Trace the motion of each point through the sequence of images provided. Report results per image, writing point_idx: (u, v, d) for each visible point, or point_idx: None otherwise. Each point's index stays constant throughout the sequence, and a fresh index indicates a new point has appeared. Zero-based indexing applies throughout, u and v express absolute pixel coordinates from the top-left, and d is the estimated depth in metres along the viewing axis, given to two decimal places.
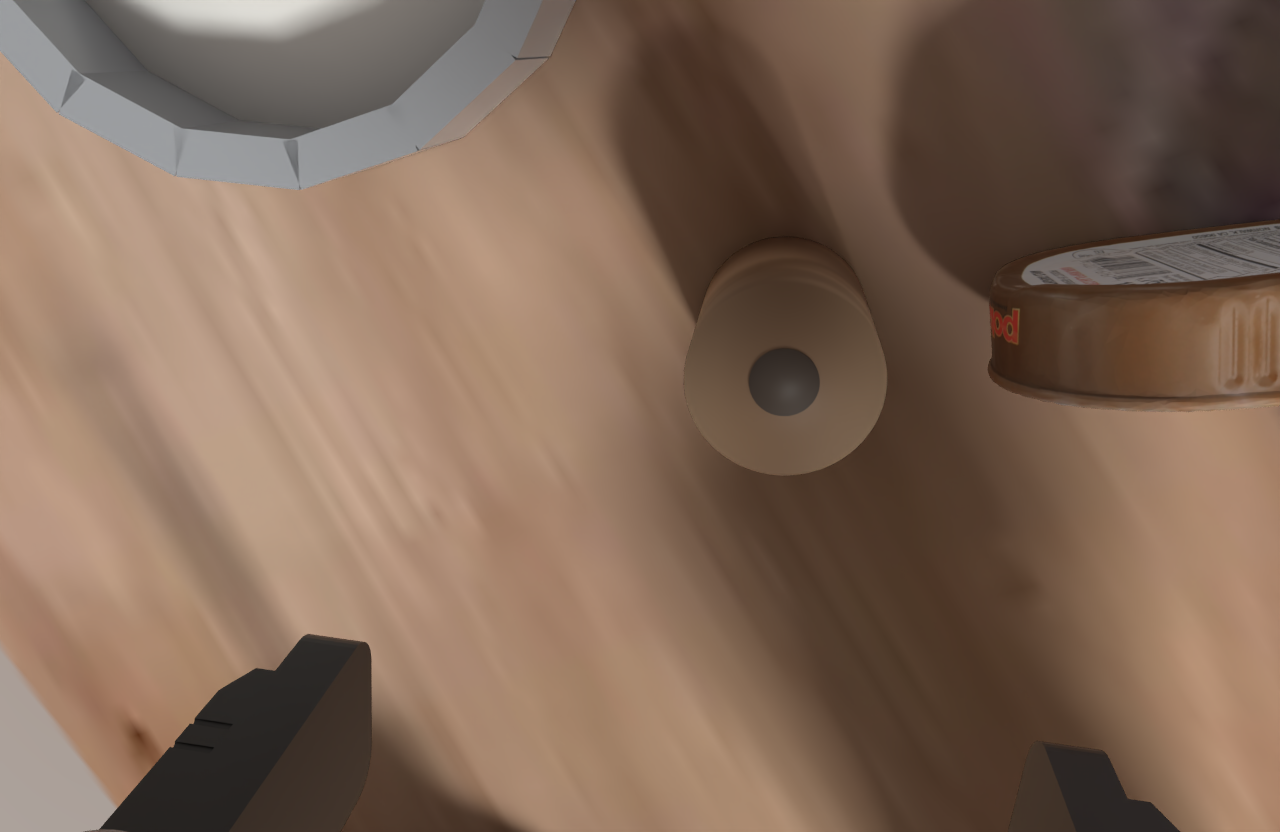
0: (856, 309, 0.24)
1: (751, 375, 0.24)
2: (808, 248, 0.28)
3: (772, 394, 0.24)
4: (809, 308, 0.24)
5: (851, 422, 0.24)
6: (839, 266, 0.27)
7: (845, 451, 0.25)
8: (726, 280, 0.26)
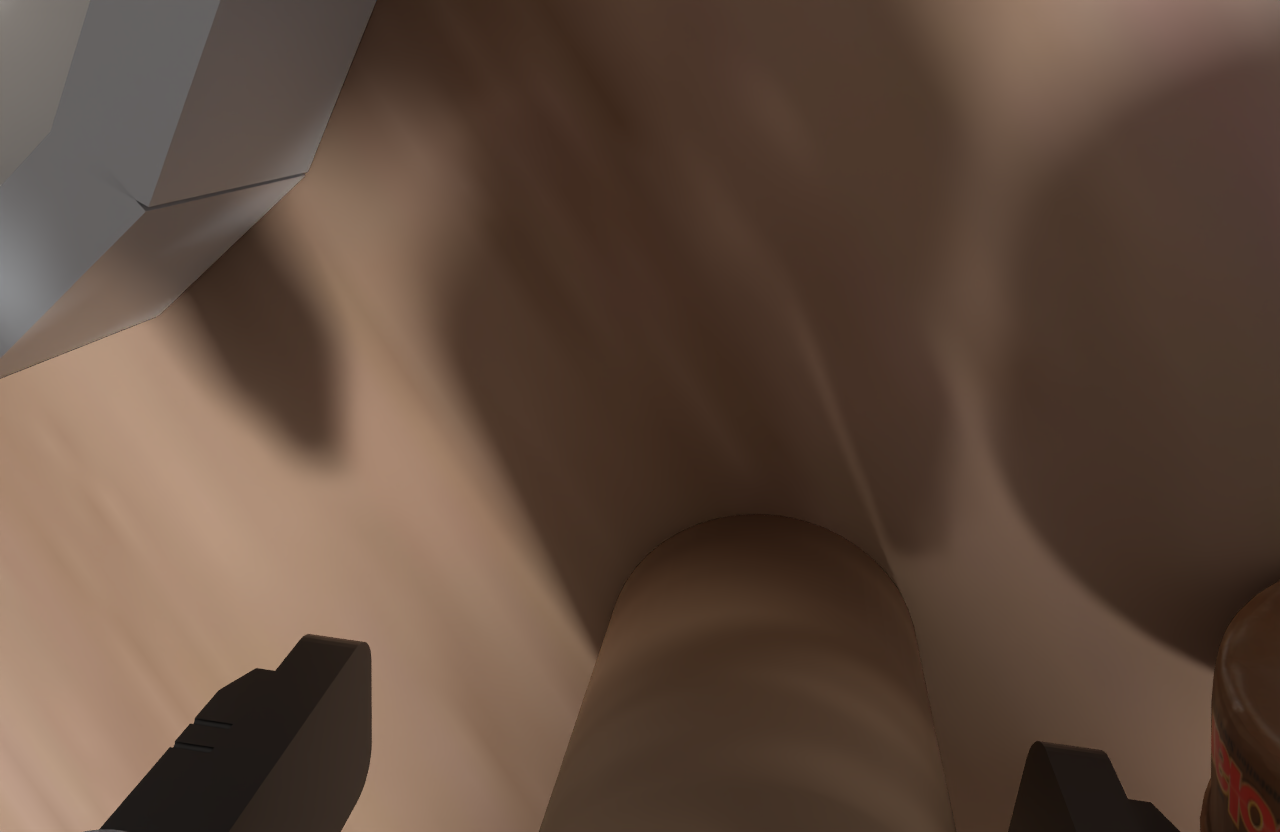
0: None
1: None
2: (805, 565, 0.14)
3: None
4: None
5: None
6: (867, 611, 0.13)
7: None
8: (629, 663, 0.12)
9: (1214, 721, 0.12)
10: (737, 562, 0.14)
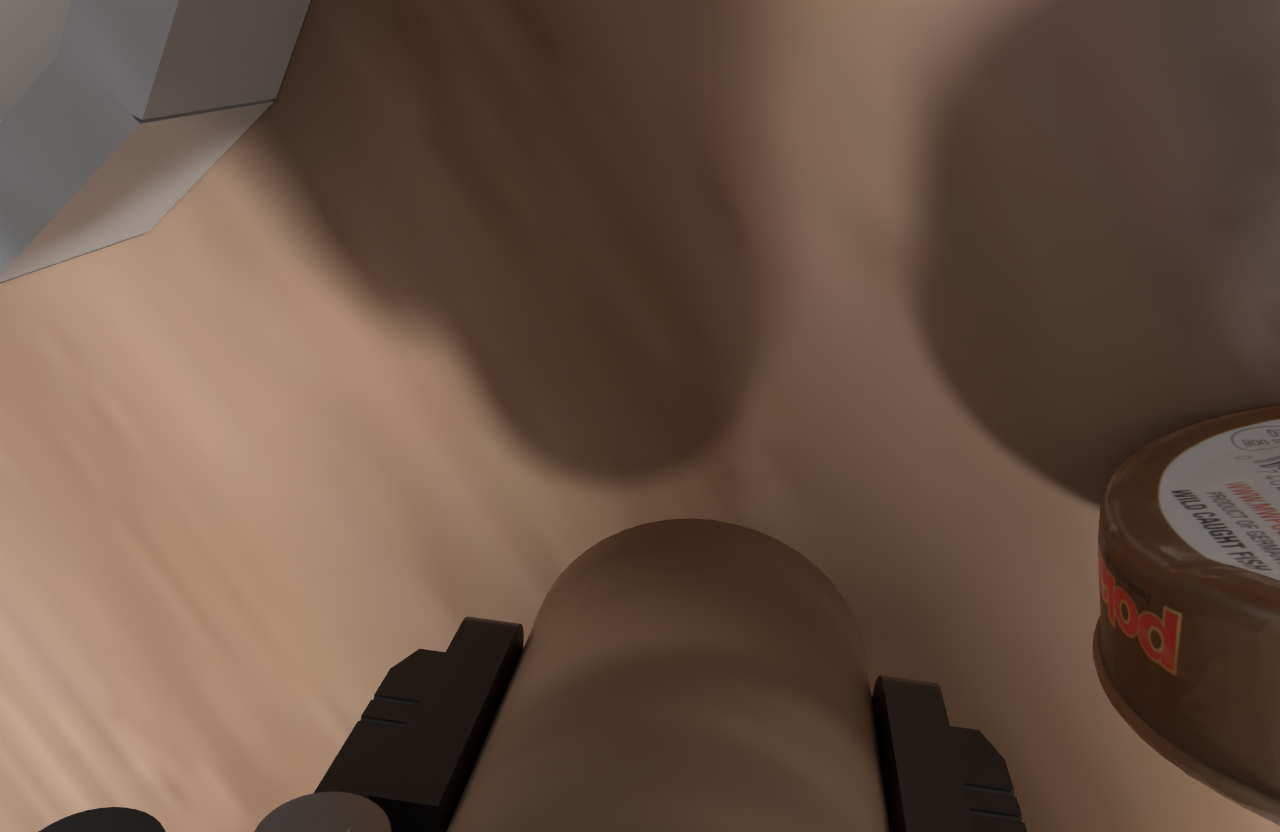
0: None
1: None
2: (735, 577, 0.12)
3: None
4: None
5: None
6: (804, 628, 0.12)
7: None
8: (531, 695, 0.11)
9: (1098, 546, 0.14)
10: (660, 575, 0.12)
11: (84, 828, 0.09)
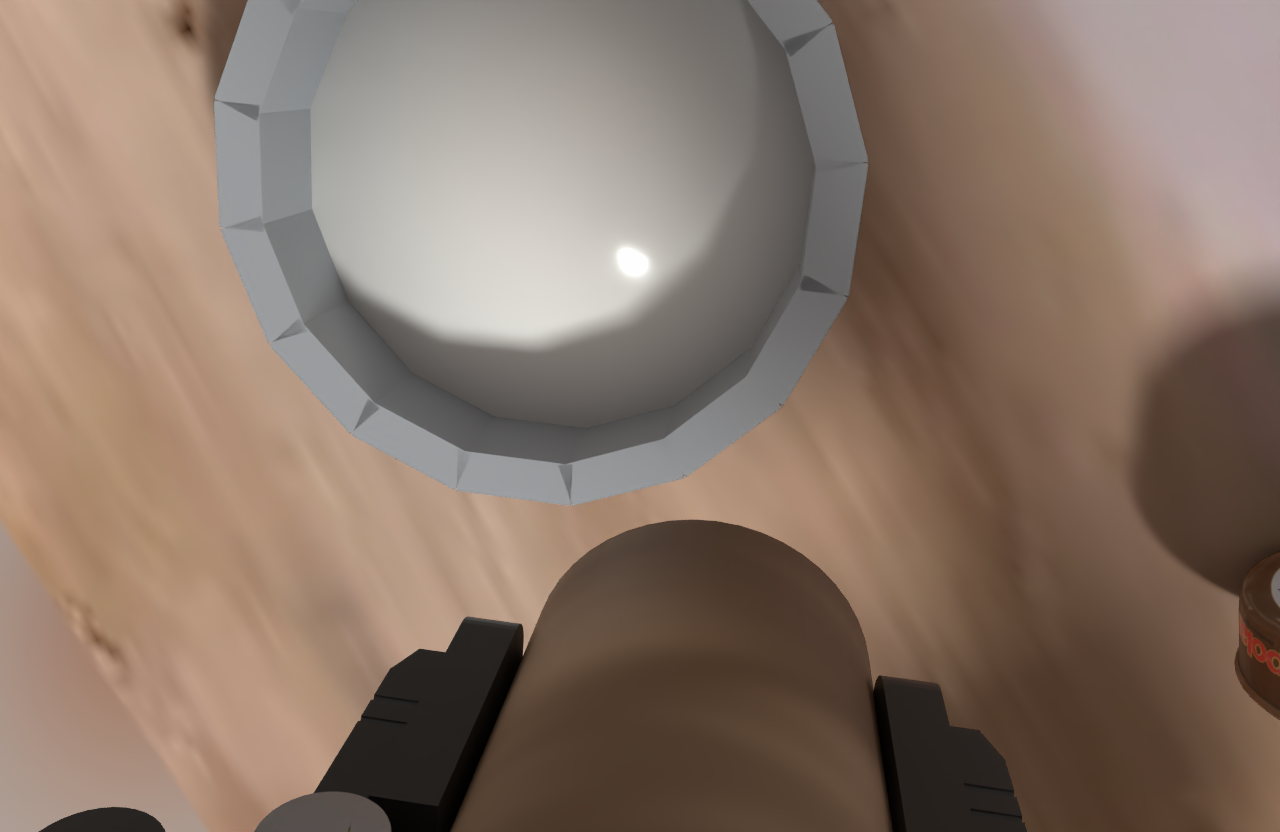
0: None
1: None
2: (738, 578, 0.12)
3: None
4: None
5: None
6: (807, 630, 0.12)
7: None
8: (533, 697, 0.11)
9: (1240, 616, 0.28)
10: (662, 576, 0.12)
11: (84, 828, 0.09)
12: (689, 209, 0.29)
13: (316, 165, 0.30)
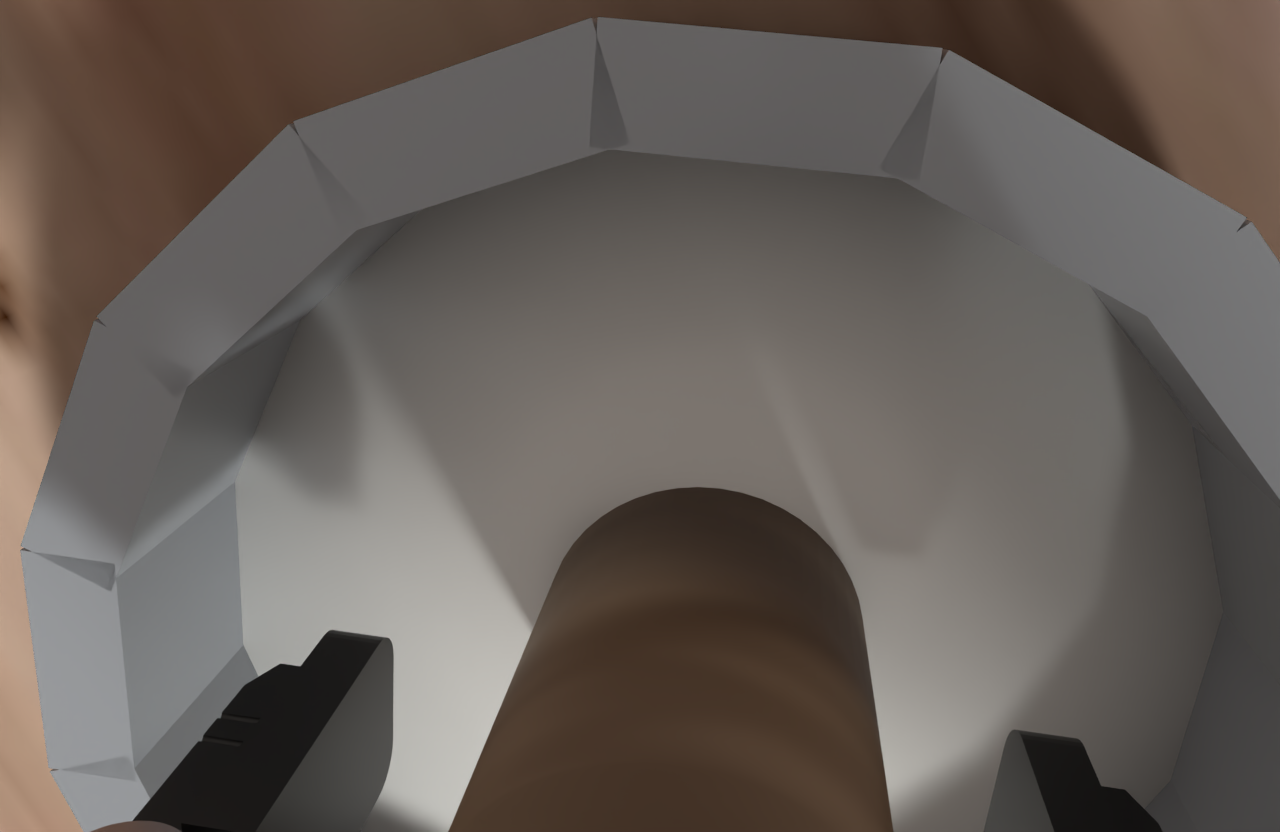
0: (834, 825, 0.09)
1: None
2: (741, 538, 0.13)
3: None
4: (713, 821, 0.09)
5: None
6: (804, 584, 0.13)
7: None
8: (553, 643, 0.12)
9: None
10: (670, 536, 0.13)
11: None
12: (961, 684, 0.15)
13: (249, 576, 0.16)
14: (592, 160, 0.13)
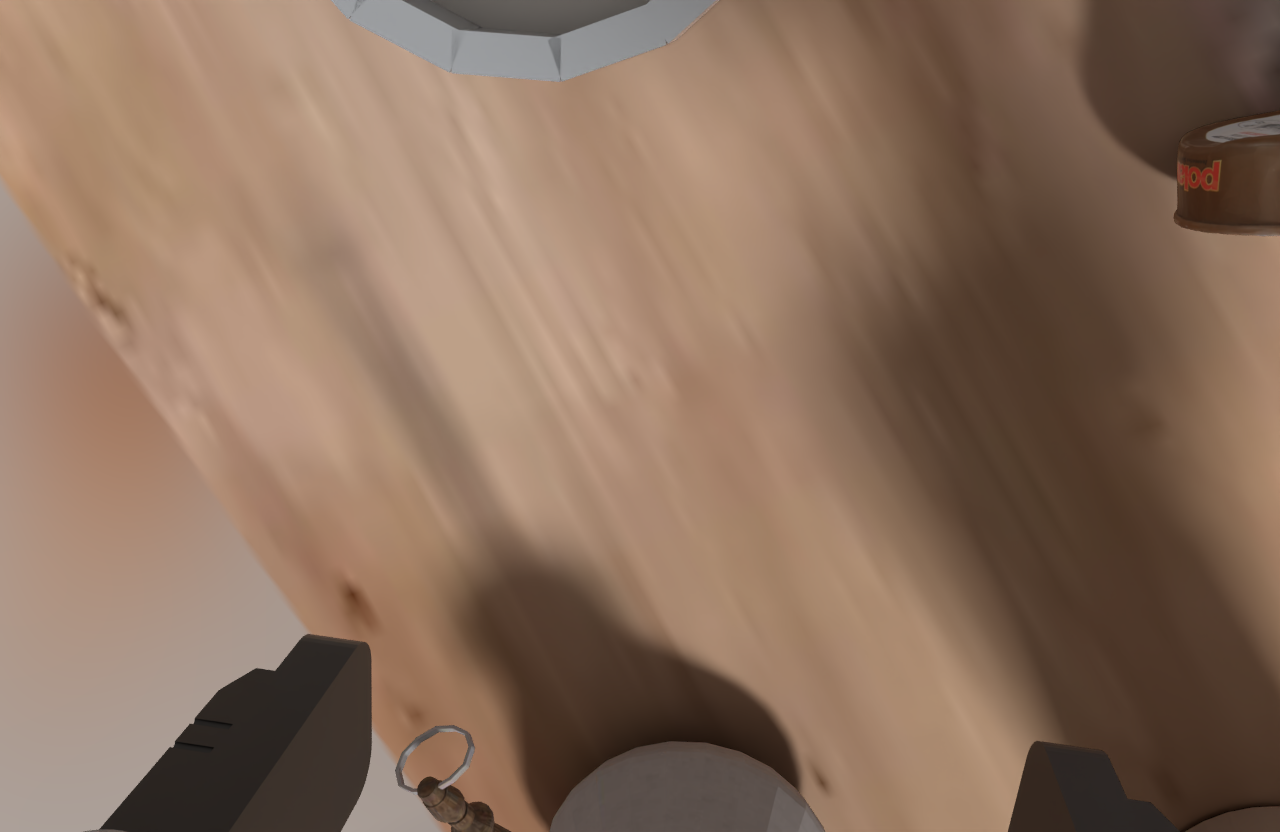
0: None
1: None
2: None
3: None
4: None
5: None
6: None
7: None
8: None
9: (1178, 162, 0.31)
10: None
11: None
12: None
13: None
14: None
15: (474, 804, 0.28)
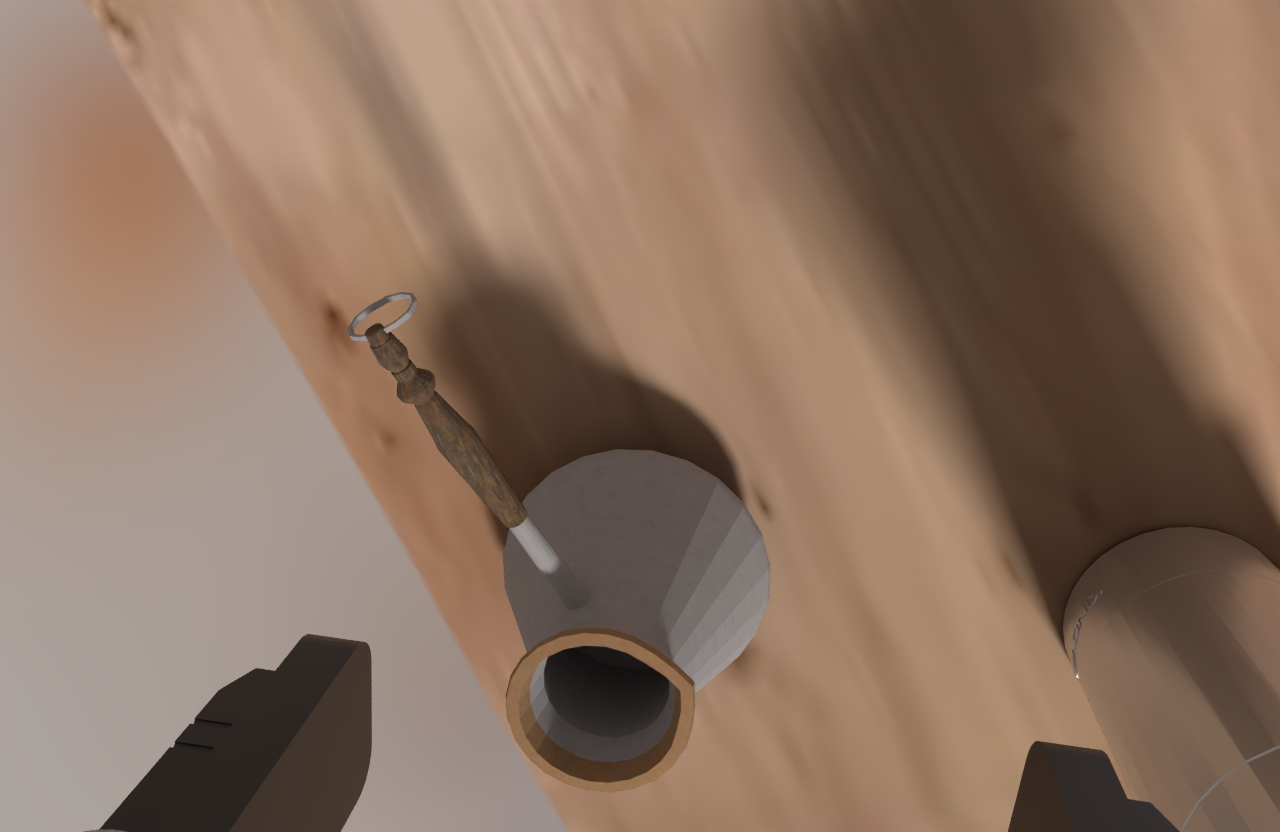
0: None
1: None
2: None
3: None
4: None
5: None
6: None
7: None
8: None
9: None
10: None
11: None
12: None
13: None
14: None
15: (418, 368, 0.32)
